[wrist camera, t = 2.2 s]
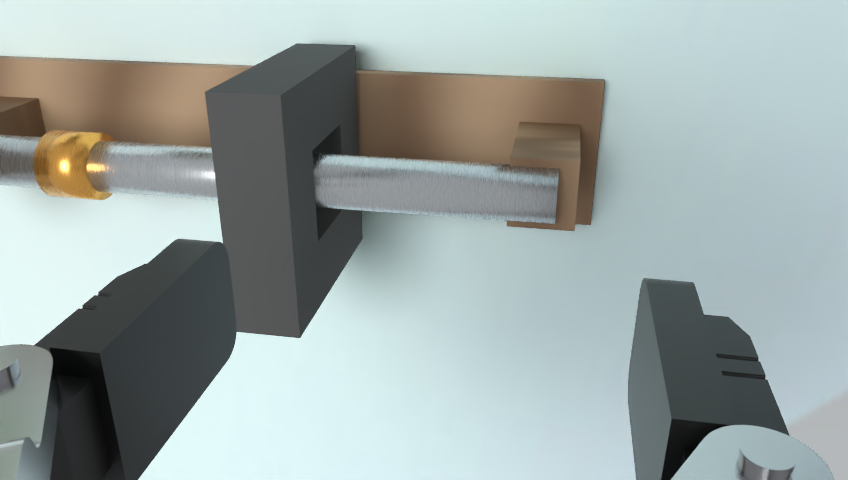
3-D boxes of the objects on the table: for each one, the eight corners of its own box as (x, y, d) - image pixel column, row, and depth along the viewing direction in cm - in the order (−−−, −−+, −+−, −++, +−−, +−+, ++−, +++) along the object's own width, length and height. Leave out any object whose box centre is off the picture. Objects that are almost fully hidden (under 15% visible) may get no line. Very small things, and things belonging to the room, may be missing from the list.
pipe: (560, 149, 27) (558, 172, 25) (555, 215, 28) (553, 244, 26) (-51, 115, 31) (-102, 133, 29) (-36, 175, 32) (-83, 196, 30)
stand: (604, 79, 30) (613, 137, 22) (590, 219, 32) (594, 311, 25) (-24, 55, 34) (-183, 96, 27) (6, 179, 37) (-132, 247, 30)
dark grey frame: (355, 45, 30) (280, 95, 22) (362, 238, 33) (299, 337, 26) (297, 43, 30) (204, 92, 23) (310, 234, 34) (233, 331, 26)
